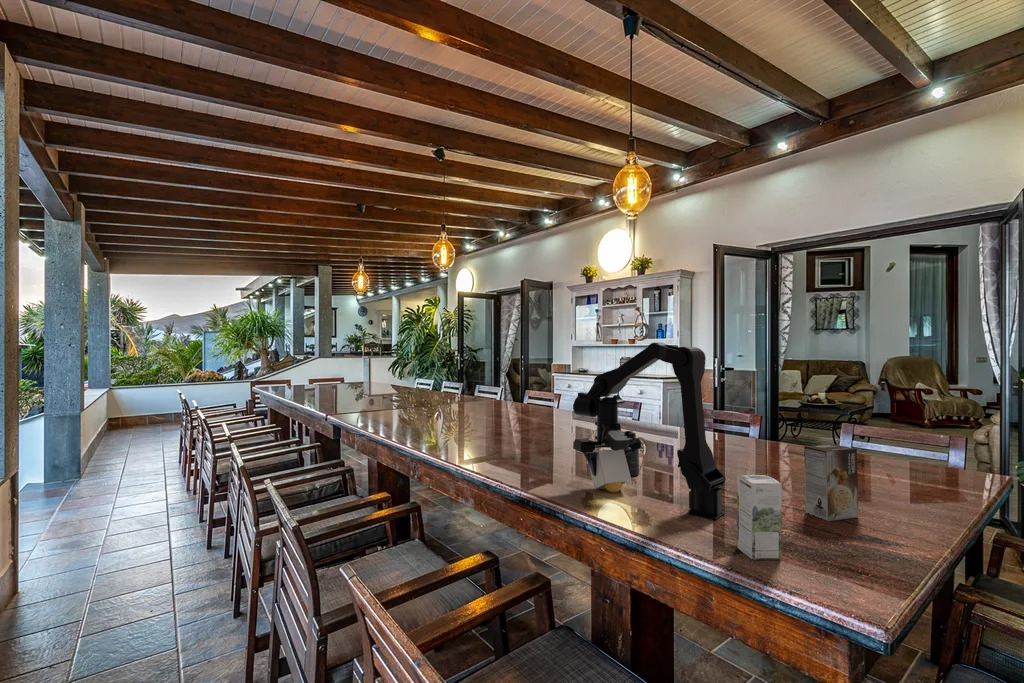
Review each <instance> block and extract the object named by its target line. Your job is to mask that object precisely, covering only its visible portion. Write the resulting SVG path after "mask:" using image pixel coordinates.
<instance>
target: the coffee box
mask: <svg viewBox="0 0 1024 683" xmlns="http://www.w3.org/2000/svg"><path fill="white" fill-rule="evenodd" d="M803 450H804V451H803V452H804V491H805V492H804V493H805V495H804V496H805V501H804V502H805V514H808V513H809V515H811V516H813V515H814V517H815V518H819V519H821V518H822V520H824V521H827V522H832V521H838V520H839V521H841V520H847V519H856V518H859V488H858V487H859V482H858V480H859V477H858V448H854V447H849V446H844V445H839V444H833V443H832V444H816V445H804V447H803Z"/></svg>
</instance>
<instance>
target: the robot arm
mask: <svg viewBox="0 0 1024 683" xmlns="http://www.w3.org/2000/svg"><path fill="white" fill-rule="evenodd" d="M706 360H707V359H706V353H705V352H704V351H703V350H702V349H701V348H699V347H696V346H674V345H670V344H666V343H664V342H651V343H650V344H649V345H647V347H645V348H644V349H643V350H641V351H640V352H639V353H637V354H635V355H634V356H633V357H631V358H630V359H628V360H627V361H625V362H624V363H623V364H621V365H619V366H618V367H617V368H613V369H612V370H608V371H605V372H603V373H600V374H598V375H596V376H595V377H594V379H593V384H592V385H591V387H590V388H589V390H588V392H587V393H586V392H578V393H577V397H575V399H574V402H573V404H572V410H573V412H574V414H575V415H576V416H581V417H588V418H589V417H590V418H595V417H596V421H594V426H597V427H596V428H597V429H596V432H597V433H596V435H595V436H594V440H592V439H589V438H587V437H585V438H575V439H574V441H573V444H572V446H573V447H572V448H573V450H575V451H578V452H580V453H582V454H583V456H584V457H585V459H586V461H587V463H588V466H590V467H589V470H590V469H591V471H592V474H593V475H594V476H596V456H597V454H598V453H597V451H596V449H598V448H599V449H600V448H603V449H604V448H610V450H614V451H618V450H624V453H625V457H626V460H627V459H628V457H629V455H630V454H631V453H632V452H635V451H636V450H634V449H639V450H640V449H642V441H641V439H640V438H639V437H636V436H635V432H634V431H633V430H625V431H622V426H621V423H619V419H618V418H619V412H618V411H619V405H623V404H625V403H626V402H625V400H624V399H623V398H622V397H621V396H620V395H619V392H621V391H622V390H623V389H624V388H625V387H626V386H627V384H628V382H629V381H630V380H631V379H632V378H634V377H636V375H639V374H640V373H642V371H644V370H646V369H647V368H649V367H651V366H652V365H653V364H655V363H657V362H658V361H662V362H664V363H667V364H671V365H672V370H673V373H674V375H675V377H676V379H677V380H678V382H679V385H680V395H681V405H682V406H681V407H682V416H683V417H682V418H683V429H684V430H683V431H684V440H685V441H684V446H683V448H681V449H677V451H676V455H677V459H678V465H677V468H680V473H681V475H682V476H683V477H684V478H685V482H686V484H687V487H688V489H689V491H688V508H689V510H688V511H687V513H688V514H691V515H693V516H698V517H702V518H706V519H711V520H717V519H718V518H719V517H721V516H723V515H724V514H725V513H726V511H725V510H723V488H722V487H724V485H725V482H726V479H727V478H726V477H725V475H724V474H723V473H722V472H721V471H720V470H719V468H718V467H717V465H716V463H715V458H714V455H713V451H712V450H711V448H710V446H709V445H708V441H707V439H706V426H705V417H704V416H705V415H704V407H703V406H704V404H703V395H702V394H703V393H702V380H703V377H704V374H705V371H706V370H705V369H706ZM612 395H613V396H612ZM610 396H611V397H610ZM601 398H602V399H601ZM591 471H590V472H591Z"/></svg>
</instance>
